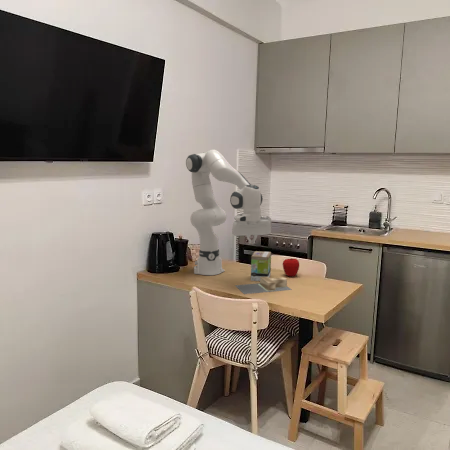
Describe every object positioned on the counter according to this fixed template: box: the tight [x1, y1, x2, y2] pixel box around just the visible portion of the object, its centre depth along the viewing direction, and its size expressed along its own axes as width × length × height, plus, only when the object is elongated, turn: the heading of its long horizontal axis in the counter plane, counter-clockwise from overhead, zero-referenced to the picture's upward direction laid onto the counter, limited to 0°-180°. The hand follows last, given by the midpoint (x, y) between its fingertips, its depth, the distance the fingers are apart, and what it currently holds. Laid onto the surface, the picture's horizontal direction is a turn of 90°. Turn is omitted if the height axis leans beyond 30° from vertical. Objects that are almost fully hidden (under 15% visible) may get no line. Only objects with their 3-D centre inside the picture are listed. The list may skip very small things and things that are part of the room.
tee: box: [259, 277, 288, 291], centre depth 222 cm, size 12×12×4 cm
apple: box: [282, 257, 300, 277], centre depth 246 cm, size 10×10×11 cm
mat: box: [234, 282, 292, 295], centre depth 221 cm, size 16×26×1 cm, turn 106°
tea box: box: [250, 250, 272, 282], centre depth 239 cm, size 15×10×15 cm, turn 168°
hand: (251, 243), depth 216 cm, fingers closed
